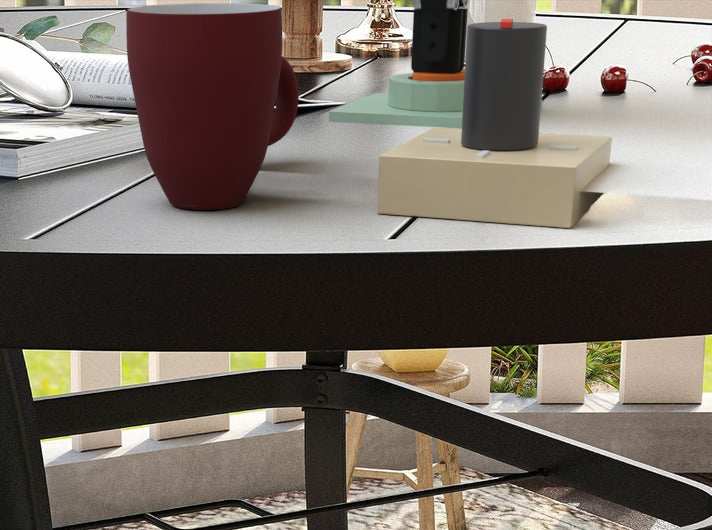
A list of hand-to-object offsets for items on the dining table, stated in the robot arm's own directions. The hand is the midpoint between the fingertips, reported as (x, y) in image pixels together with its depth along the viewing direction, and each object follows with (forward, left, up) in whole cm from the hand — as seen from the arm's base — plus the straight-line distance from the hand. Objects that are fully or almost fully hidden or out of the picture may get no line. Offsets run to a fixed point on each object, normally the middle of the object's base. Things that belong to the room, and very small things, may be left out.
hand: (437, 71), depth 94 cm
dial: (-9, +20, -1) cm, 22 cm away
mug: (+5, +25, -5) cm, 25 cm away
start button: (0, 0, -2) cm, 2 cm away
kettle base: (0, 0, -4) cm, 4 cm away
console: (-9, +20, -4) cm, 23 cm away
